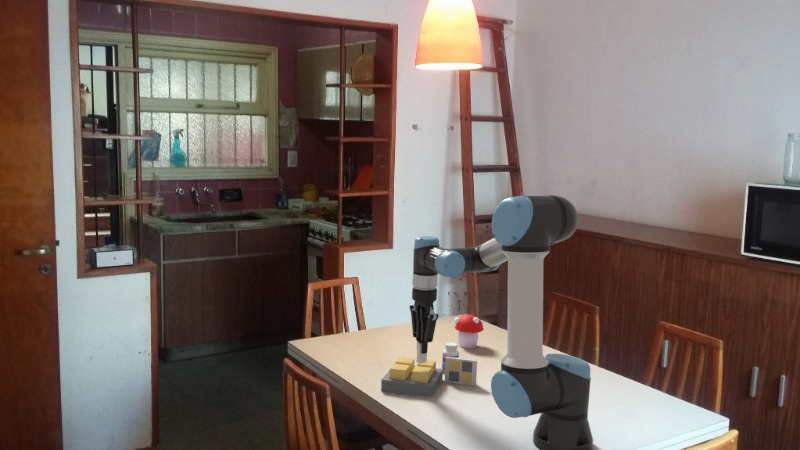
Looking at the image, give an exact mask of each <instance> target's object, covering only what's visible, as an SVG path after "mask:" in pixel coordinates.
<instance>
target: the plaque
mask: <svg viewBox="0 0 800 450" xmlns="http://www.w3.org/2000/svg"><path fill="white" fill-rule="evenodd" d="M477 371H478V359H470V358H461V357H459V358H453V357H446V360H445V374H444V383H451V384H452V383H453V384H460V385H467V386H468V385H469V386H476V385H477V376H478V375H477Z"/></svg>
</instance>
